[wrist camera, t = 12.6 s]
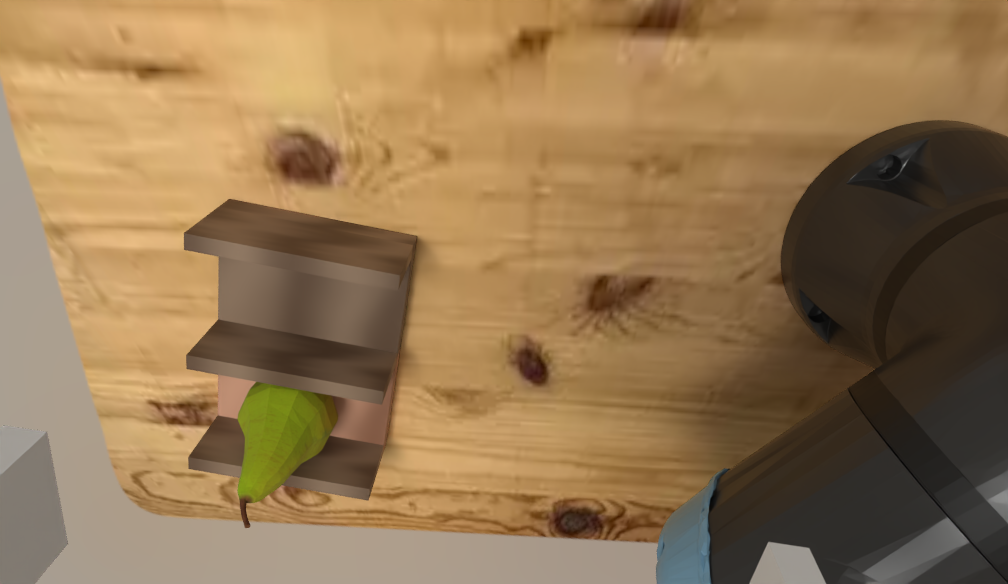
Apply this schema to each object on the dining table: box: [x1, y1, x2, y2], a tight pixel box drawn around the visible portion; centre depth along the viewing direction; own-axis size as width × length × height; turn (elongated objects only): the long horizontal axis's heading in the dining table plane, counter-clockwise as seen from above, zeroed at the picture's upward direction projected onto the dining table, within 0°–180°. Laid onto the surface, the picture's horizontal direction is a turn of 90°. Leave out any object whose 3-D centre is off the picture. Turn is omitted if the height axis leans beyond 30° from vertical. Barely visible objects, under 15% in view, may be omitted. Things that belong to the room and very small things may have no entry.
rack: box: [184, 199, 417, 500], centre depth 43 cm, size 12×17×6 cm
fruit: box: [237, 382, 338, 528], centre depth 40 cm, size 6×6×12 cm
